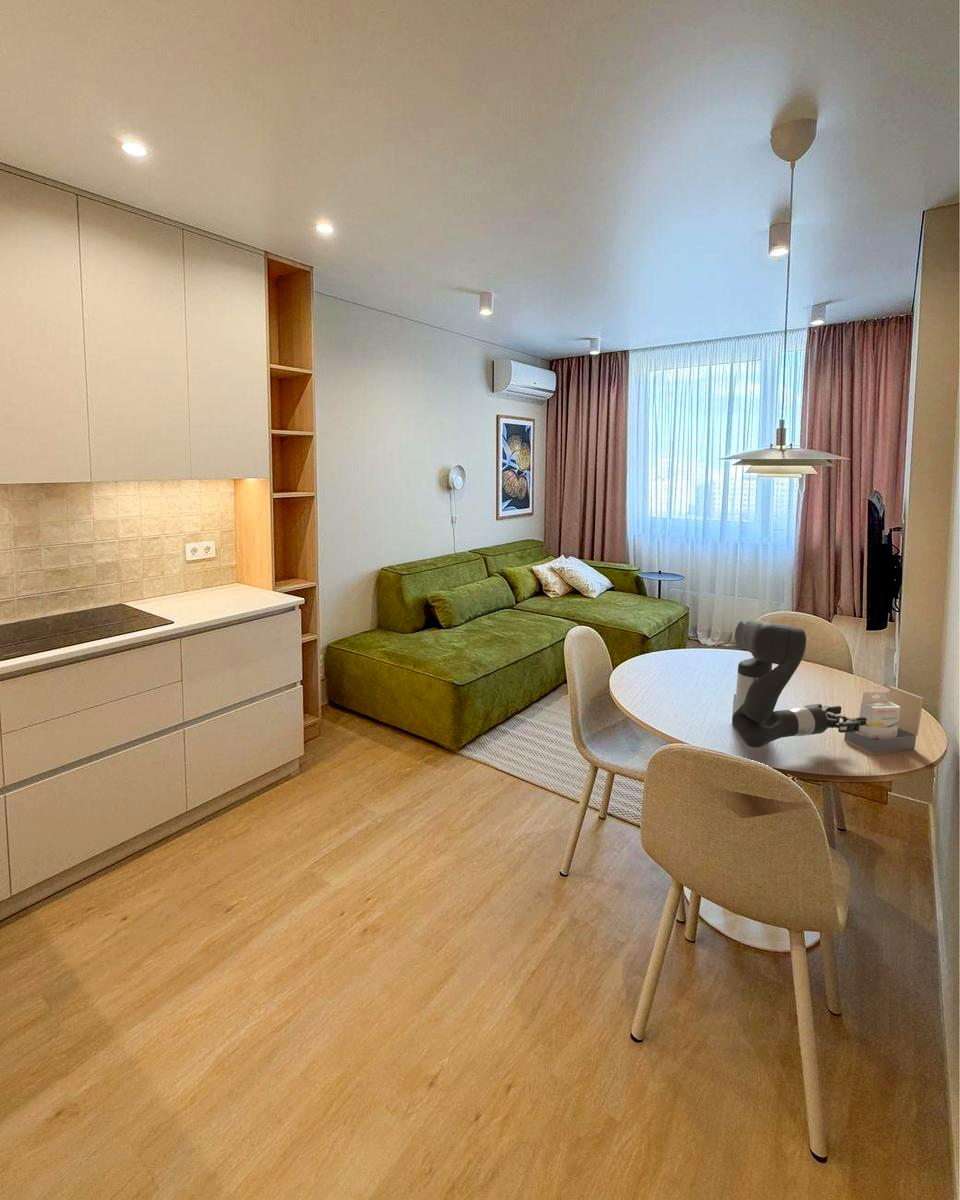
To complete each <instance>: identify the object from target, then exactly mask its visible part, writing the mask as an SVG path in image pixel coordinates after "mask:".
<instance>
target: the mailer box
mask: <svg viewBox="0 0 960 1200" xmlns="http://www.w3.org/2000/svg"><path fill="white" fill-rule="evenodd" d="M888 691H889V692H890V696H889V702H891V703H893V704H895V705H898V706H900V707H901V710H900V716H899V723H898V730H897V736H896V738H890V739H882V740H873V739H871V738H869V737H867V736H865V735H862V734H860V733H858V732H857V731H855V732H844V739H843V740H844V742H847V743H848V744H850V745H852V746H855V748H856V747H857V748H858V749H860V750H862V751H864V752H866V753H868V754H871V755H873V756H875V755H876V756H877V755H884V754H891V753H899V752H904V751H912V750H913V751H914V750H915V747H916V741H917V740H916V739H917V737H918V736H919V730H920V726H921V725H920V723H921V719H922V718H921V717H922V708H923V702H924V697H921V696H918V695H916V694H913V693H911V692H908V691H904V690H903V689H900V688H898V687H894V686H889V689H888Z"/></svg>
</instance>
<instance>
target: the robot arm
mask: <svg viewBox="0 0 960 1200" xmlns="http://www.w3.org/2000/svg"><path fill="white" fill-rule="evenodd" d="M734 640H735V644H736V647H737V648H738V649H739V650H740V651H742V652H743V651H745V652H749V653H750V654H751V655H752V658H748V659H744V660H741V661H740V662H739V663H738V666H737V675H736V676H737V679H736V689H735V693H734V694H733V703H732V705H733V706H732V715H731V716H732V717H731V724H732V725H733V728H734V729H735V730H736V731H737V733H738V735H739V736H740V737H741V740H742V741H743V743H744V744H746V746H748V747H750V748H754V749H757V748H762V747H763V746H766V745H769V744H770V743H772V742H774V741H776V740H778V739H782V738H788V737H804V736H810V735H818V734H820V735H821V734H822V733H825V731H826V730H828V729H838V731H837V732H839V733H840V734H845V732H855V731H859V728H860V726H864V725H866V721H867V718H865V717H847V716H846V715H844V714H841V713H842V706H840V705H835V706H834V705H833V706H828V705H824V706H823V705H822V704H821V703H815V704H807V705H803V706H800V707H799V706H798V707H792V708H787V709H782V710H775V707H776V704H777V703H778V699H779V697H780V695H781V693H782V691H783V690H784V688H785V687H786V685H787V684H788V683H789V682H790V680H791V678H792V677H793V675H794V674H795V672H796V670H797V669H798V668H799V666H800V664H801V662H802V660H803V658H804V656H805V652H806V647H807V635H806V632H805V630H804V629H803V628H800V627H797V626H794V625H793V626H792V625H786V624H781V623H775V622H773V621H769V620H755V619H753V620H750V619H744V620H741V621H740V622H738V623H737V625H736V628H735V631H734ZM773 665H776V667H774V668H773ZM841 719H842V721H840V720H841Z"/></svg>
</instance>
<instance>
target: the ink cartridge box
mask: <svg viewBox="0 0 960 1200" xmlns="http://www.w3.org/2000/svg"><path fill="white" fill-rule="evenodd" d="M873 696H876V697H873ZM877 696H880V697H877ZM889 696H890V692H889V690H888V691H864V692H863V695H862V698H861V699H862V700H861V702H860V709H859V717H865V718H867V721H866V725H864V726H860V728H859V731H857V732H858V733H860V734H862V735H865V736H867V737H869V738H871V739H873V740H882V739H890V738H896V736H897V730H898V723H899V716H900V710H901V707H900V706H898V705H895V704H893V703H891V702H889Z"/></svg>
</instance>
